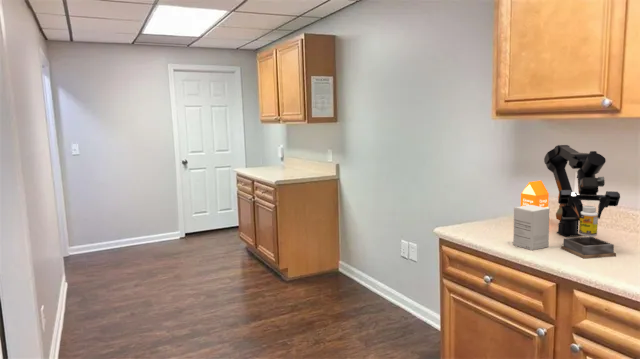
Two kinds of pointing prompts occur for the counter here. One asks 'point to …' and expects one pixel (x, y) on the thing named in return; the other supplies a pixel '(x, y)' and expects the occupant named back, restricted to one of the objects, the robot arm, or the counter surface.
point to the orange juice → (535, 195)
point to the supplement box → (531, 227)
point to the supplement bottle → (588, 221)
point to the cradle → (588, 247)
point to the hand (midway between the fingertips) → (589, 217)
